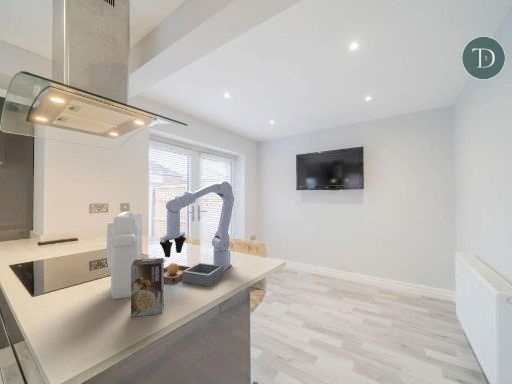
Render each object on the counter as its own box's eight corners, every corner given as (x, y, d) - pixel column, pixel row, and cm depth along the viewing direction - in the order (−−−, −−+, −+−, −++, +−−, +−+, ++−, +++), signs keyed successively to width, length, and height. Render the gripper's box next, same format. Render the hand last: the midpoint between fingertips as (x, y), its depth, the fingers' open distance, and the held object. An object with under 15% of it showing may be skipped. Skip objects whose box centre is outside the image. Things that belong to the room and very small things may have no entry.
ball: (172, 271, 107) (172, 261, 107) (180, 273, 105) (181, 262, 105) (164, 275, 102) (164, 264, 102) (173, 276, 101) (173, 265, 101)
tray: (172, 269, 113) (172, 264, 113) (194, 272, 109) (194, 267, 109) (149, 279, 99) (149, 274, 99) (173, 284, 95) (173, 278, 95)
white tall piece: (115, 278, 100) (116, 210, 101) (143, 275, 104) (144, 210, 104) (96, 307, 75) (97, 216, 75) (134, 301, 79) (135, 215, 79)
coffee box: (164, 304, 77) (165, 257, 77) (161, 314, 71) (162, 263, 71) (134, 307, 75) (135, 259, 75) (129, 318, 69) (130, 265, 69)
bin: (199, 272, 109) (199, 262, 109) (223, 275, 105) (223, 265, 105) (182, 282, 97) (182, 271, 97) (208, 286, 93) (209, 275, 93)
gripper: (176, 222, 112) (176, 250, 112) (154, 227, 98) (154, 258, 98) (188, 223, 110) (188, 251, 110) (168, 227, 96) (167, 259, 96)
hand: (173, 254), depth 104 cm, fingers open, 7 cm apart
